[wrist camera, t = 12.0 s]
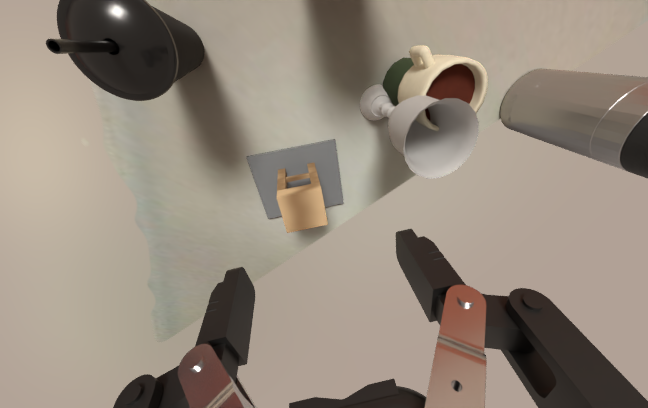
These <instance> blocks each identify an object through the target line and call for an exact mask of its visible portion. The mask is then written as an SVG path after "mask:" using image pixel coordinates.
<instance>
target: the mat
mask: <svg viewBox="0 0 648 408" xmlns="http://www.w3.org/2000/svg"><path fill="white" fill-rule="evenodd" d="M247 160H248V163H249V166H250V169H251V172H252V175H253V177H254V180H255V183H256V186H257V189H258V192H259V194H260V197H261V200H262V203H263V206H264V209H265V211H266V214H267V217H268V219H270V218H275V217H280V216H282V214H281V211H280V208H279V205H278V201H277V179H278V170H279V169H284V168H285V169H286V173H287V177H289V176H294V175H299V174H304V173H309V171H308V166H307V164H309V163H315V167H316V171H317V174H318V178H319V182H320V186H321V189H322V195H323V200H324V206H325V207H328V206H333V205H338V204H342V203H343V196H342V189H341V181H340V173H339V166H338V158H337V150H336V143H335V139H333V140H328V141H323V142H318V143H313V144H308V145H303V146H298V147H293V148H288V149H282V150H277V151H272V152H267V153H262V154H257V155H252V156H247ZM308 184H311V181H310V178H306V179H301V180H296V181H291V182H287V189H289V188H294V187H298V186H303V185H308Z"/></svg>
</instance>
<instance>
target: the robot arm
mask: <svg viewBox="0 0 648 408" xmlns="http://www.w3.org/2000/svg"><path fill="white" fill-rule="evenodd" d="M500 115H501V120H502V123H503V124H504V125H505V126H506V127H507V128H509V129H511V130H514V131H517V132H520V133H523V134H525V135H528V136H530V137H533V138H536V139H539V140H542V141H544V142H547V143H550V144H553V145H555V146H558V147H561V148H564V149H567V150H569V151H572V152H575V153H578V154H581V155H583V156H586V157H589V158H592V159H594V160H597V161H600V162H603V163H606V164H609V165H611V166H614V167H617V168H620V169H623V170H625V171H628V172H631V173H634V174H637V175H640V176H643V177H645V178H648V77H637V76H624V75H613V74H599V73H588V72H576V71H565V70H551V69H537V70H533V71H531V72H529V73H527V74H525V75H524V76H522V77H521V78H520V79H519V80H517V81H516V82H515V83H514V85H513V86H512V87H511V88H510V89H509V91H508V92H507V94H506V96H505V98H504V100H503V103H502V106H501V111H500ZM396 254H397V259H398V262H399V264H400V266H401V268H402V270H403V272H404V274H405V276H406V278H407V280H408V282H409V283H410V285H411V287H412V289H413V291H414V293H415V295H416V297H417V299H418V300H419V302H420V304H421V306H422V308H423V310H424V312H425V314H426V316H427V318H428V320H429V322H433V321H438V323H439V324H440V330H439V336H438V339H437V344H436V350H435V355H434V360H433V366H432V371H431V376H430V382H429V387H428V392H427V397H425V396H424V395H422V394H420V393H418V392H416V391H414V390H411V389H409V388H405V387H399V386H396V383H395V380H394V379H391V380H386V381H382V382H378V383H374V384H370V385H367V386H365V387H364V388H362V389H360V390H359V391H357V392H355V393H354V394H352V395H350V396H349V397H347V398H345V399H342V400H339V399H328V398H317V397H315V398H310V399H306V400H302V401H297V402H293V403H290V404H289V408H485V388H486V355H485V354H484V348H493V349H501V351H502V352H503V354H504V355H505V357H506V358H507V360H508V361H509V363H510V365H511V366H512V368H513V369H514V371H515V372H516V374H517V375H518V377H519V378H520V380H521V381H522V383H523V385H524V386H525V388H526V389H527V391H528V392H529V394H530V395H531V397H532V399H533V400H534V402H535V403H536V405H537V406H538V408H648V401H647V400H646V399H645V398H644V397H643V396H642V395H641V394H640V393H639V392H638V391H637V390H636V389H635V388H634V387H633V386H632V385H631V383H630V382H629V381H628V380H627V379H626V378H625V377H624V376H623V375H622V374H621V373H620V372H619V371H618V370H617V369H616V368H615V367H614V366H613V365H612V364H611V363H610V362H609V361H608V360H607V359H606V358H605V356H603V355H602V353H601V352H600V351H599V350H598V349H597V348H596V347H595V346H594V345H593V344H592V343H591V342H590V341H589V340H588V339H587V338H586V337H585V336H584V335H583V334H582V333H581V332H580V331H579V329H578V328H577V327H576V326H575V325H574V324H573V323H572V322H571V321H570V320H569V319H568V318H567V317H566V316H565V315H564V314H563V313H562V312H561V311H560V310H559V309H558V308H557V307H556V306H555V305H554V304H553V303H552V302H551V301H550V300H549V299H548V298H547V297H546V296H544V295H543V294H541V293H539V292H537V291H534V290H531V289H525V288H520V289H515V290H513V291H512V292H511V293H510V295H509V296H495V295H485V294H481V293H480V292H479V291H477V290H476V289H474V288H472V287H470V286H467V285H466V284H465V283H464V282H463V281H462V279H461V278H460V277H459V276H458V274H457V273H456V272H455V270H454V269H453V268H452V267H451V265H450V264H449V262H448V261H447V260H446V259H445V258H444V256H443V254H442V253H441V252H440V251H439V249H438V248H437V246H436V245H435V244H434V243H433V242H432V241H431V240H429V239H427V238H426V237H419V238H418V237H417V236H416V234H415V233H414V232H413V230H412V229H408V230H403V231H399V232H396ZM254 302H255V290H254V286H253V284H252V282H251V280H250V278H249V277H248V275H247V273H246V271H245V269H244V268H243V267H240V268H236V269H231V270H228V271H227V272H226V274H225V278H224V281H223V282H221V283H218V284H217V286H216V287H215V289H214V290H213V292H212V293H211V297H210V300H209V305H208V306H207V310H206V313H205V316H204V320H203V323H202V326H201V330H200V333H199V336H198V339H197V342H196V346H195V347H194V348H193V349H191V350H190V351H189V352H188V353H187V354H186V355H185V356H184V357H183V359H182V360H181V362H180V365H179V366H177V367H176V368H174V369H172V370H170V371H168V372H167V373H165V374H163V375H161V376H160V377H158V378H154V377H153V376H152V375H142V376H140V377H138V378H136V379H135V380H133V381H132V382H130V383H129V384H128V385H127V386H126V387H125V389H124V390H123V391H122V392H121V394H120V395H119V397H118V398H117V400H116V402H115V405H114V407H113V408H257V407H256V406H255V404H254V403H253V401H252V399H251V398H250V396H249V394H248V393H247V391H246V390H245V388H244V386H243V385H242V383H241V381H240V380H239V378H238V376H237V370H238V366H241V365H245V364H247V358H248V350H249V342H250V334H251V326H252V318H253V310H254Z"/></svg>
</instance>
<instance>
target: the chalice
mask: <svg viewBox="0 0 648 408" xmlns="http://www.w3.org/2000/svg"><path fill="white" fill-rule="evenodd" d="M392 104H393V103H392V102H391V99H390V98H389V96H388V95H387V92H385V90H384V89H383V85H381V84H377V85H373V86H370V87H369V88H368V89H366V90H365V92H364V93H363V95H362V97H361V100H360V110H361V113H362V114H363V116H364V117H366V118H367V119H369V120H379V119H382V118H383V117H388V118H389V122H388V129H389V135H390V140H391V142H392V144H393V146H394V147H395V148H396V149H397V150H398V151H399V152H400V153H401V154H402V155H403V156H405V161H406V163H407V165H408V166H409V168H410V170H412V171H413V172H414V173H415V174H417V175H418V176H421V177H424V178H439V177H442V176H445V175H448V174H450V173H451V172H453V171H454V170H456V169H457V168H459V167H460V166H461V165H462V164H463V163H464V162H465V161H466V160H467V159H468V157H469V155H470V154H471V152H472V150H473V149H474V147H475V144H476V141H477V137H478V128H479V122H478V119H477V116H476V113H475V111H474V110H473V108H472V107H471V106H470V105H469V104H468V103H467V102H464V101H462V100H460V99H458V98H444V99H442V100H438V99H435V98H432V97H429V96H422V95H417V96H414V97H411V98H409V99H406V100H404V101H402V102H401V103H399V104H398V105H397V106H396V107H395V106H393V105H392ZM426 108H428V110H429V112H430V122H431V123H432V124H433V125H436V126H438V127H439V131H435V130H432V129H429V128H427V127H425V126H423V125H422V124H420V123H418V122H417V121H416V120H415V119H416V118H417V116H418V115H419V114H420V113H421V112H422V111H424V110H425V109H426Z"/></svg>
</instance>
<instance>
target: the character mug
mask: <svg viewBox="0 0 648 408" xmlns="http://www.w3.org/2000/svg"><path fill="white" fill-rule="evenodd" d="M409 53H410V57H411V58H402V59H401V60H399V61H397V62H395V63H394V64H393V65H392V67H391V68H390V69H389V70H388V71H387V73H386V76H385V79H384V81H383V89H384V90H385V92H387V95H388V96H389V98H390V99H391V102H392V103H393V105H394V106H397V105H398V104H399V103H401V102H402V101H404V100H406V99H409V98H411V97H414V96H417V95H422V96H429V97H432V98H435V99H438V100H442V99H444V98H458V99H460V100H462V101H464V102H467V103H468V104H469V105H470V106H471V107H472V108H473V110H474V111H475V113H477V111H478V110H479V108H480V107H481V105H482V104H483V102H484V99H485V96H486V92H487V89H488V77H487V73H486V70H485V68H484V67H483V66H482V65H481V64H480V62H477V61H475V60H472V59H470V58H467V57H459V56H454V55H440V54H438V55H432V54H431V51H430V49H429V48H428V47H427V46H425V45H424V46H413V47H412V48H411V49H410V51H409ZM415 120H416V121H417V122H418V123H420V124H422V125H423V126H425V127H427V128H429V129H432V130H435V131H439V127H438V126H436V125H433V124H432V123H431V122H430V112H429V110H428V108H426V109H425V110H424V111H422V112H421V113H420V114H419V115H418V116H417V118H416V119H415Z"/></svg>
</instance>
